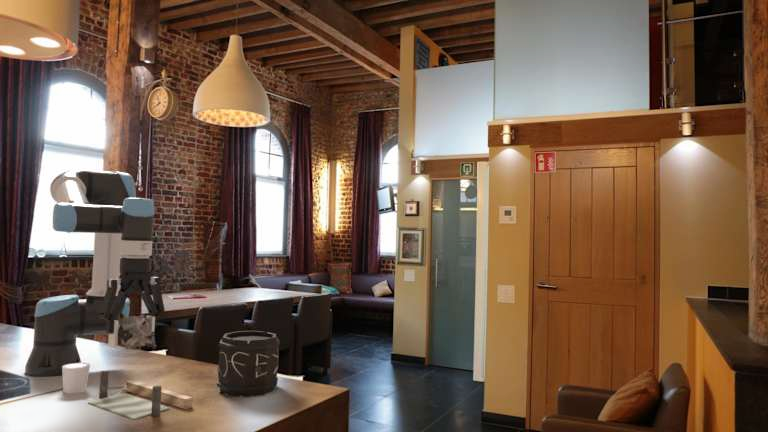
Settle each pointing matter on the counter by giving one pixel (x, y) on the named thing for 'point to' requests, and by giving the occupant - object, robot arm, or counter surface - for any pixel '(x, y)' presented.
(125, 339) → the decorative stone
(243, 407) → the counter surface
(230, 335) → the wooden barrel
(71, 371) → the shot glass
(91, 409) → the counter surface
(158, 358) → the counter surface
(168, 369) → the counter surface
